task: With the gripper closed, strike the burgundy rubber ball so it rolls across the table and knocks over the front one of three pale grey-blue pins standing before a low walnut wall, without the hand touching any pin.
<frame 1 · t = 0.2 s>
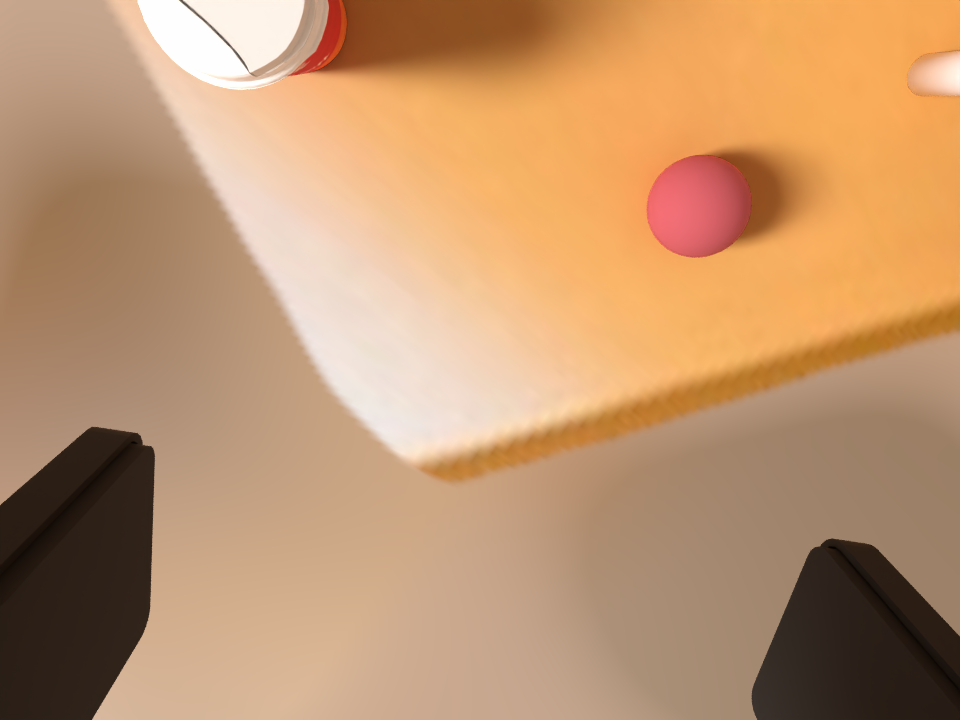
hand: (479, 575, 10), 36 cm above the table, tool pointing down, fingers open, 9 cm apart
paper cup: (301, 21, 40), on the table
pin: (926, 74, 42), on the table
ball: (698, 207, 41), on the table
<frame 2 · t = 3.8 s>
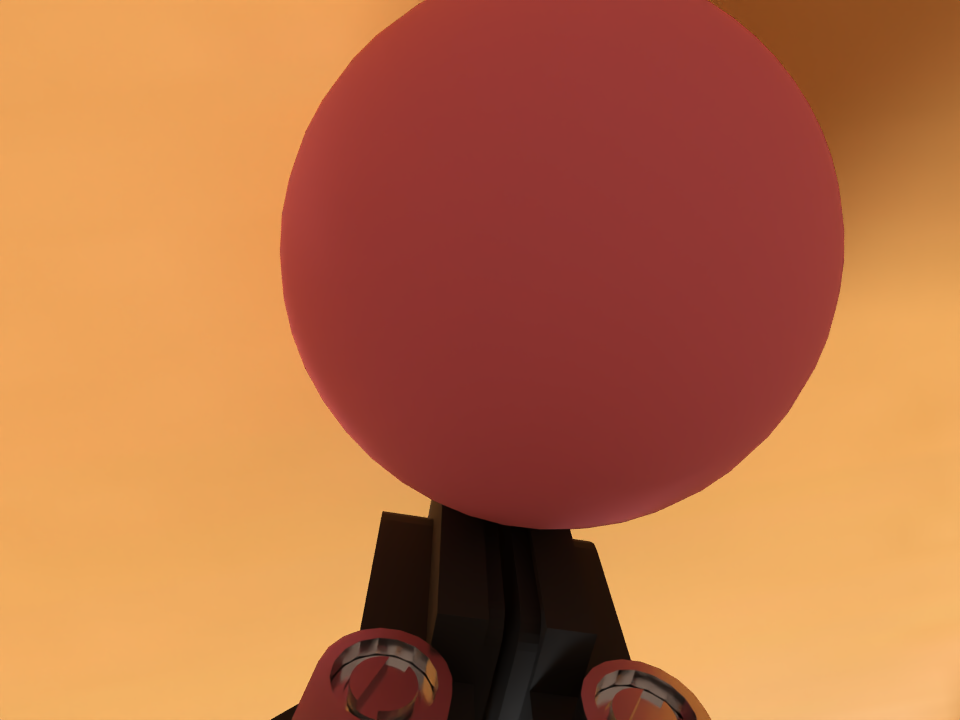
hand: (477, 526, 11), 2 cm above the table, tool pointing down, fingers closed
ball: (550, 262, 8), on the table
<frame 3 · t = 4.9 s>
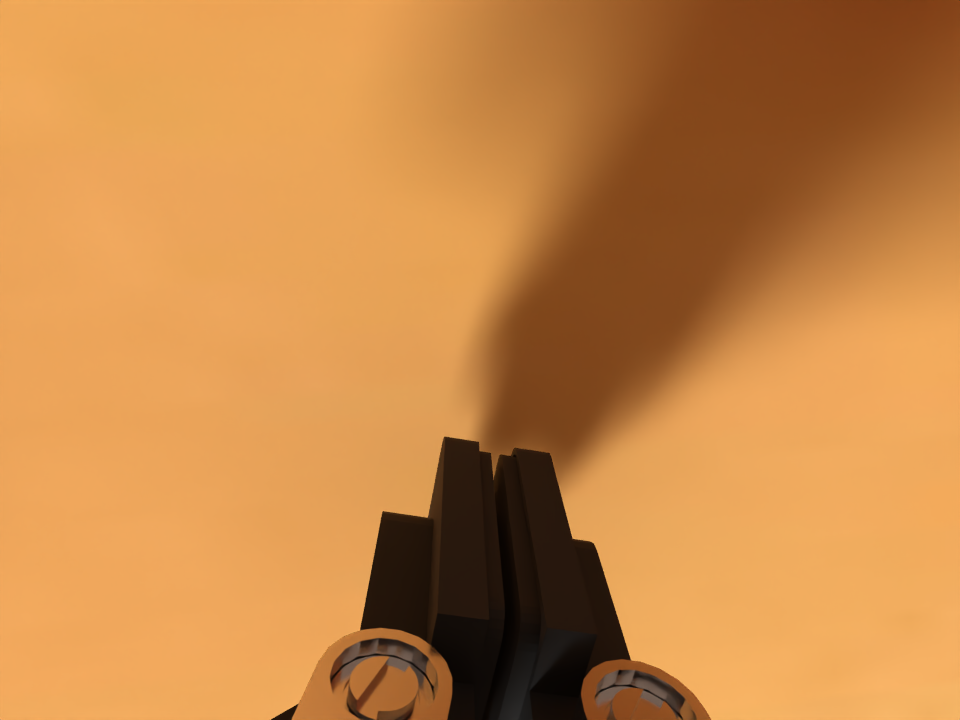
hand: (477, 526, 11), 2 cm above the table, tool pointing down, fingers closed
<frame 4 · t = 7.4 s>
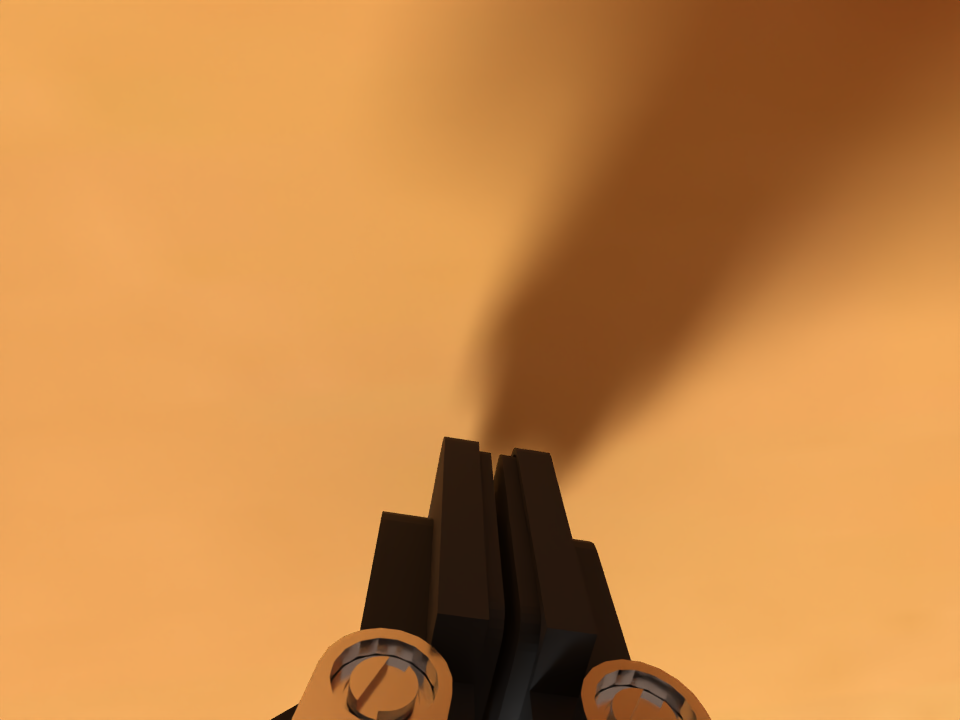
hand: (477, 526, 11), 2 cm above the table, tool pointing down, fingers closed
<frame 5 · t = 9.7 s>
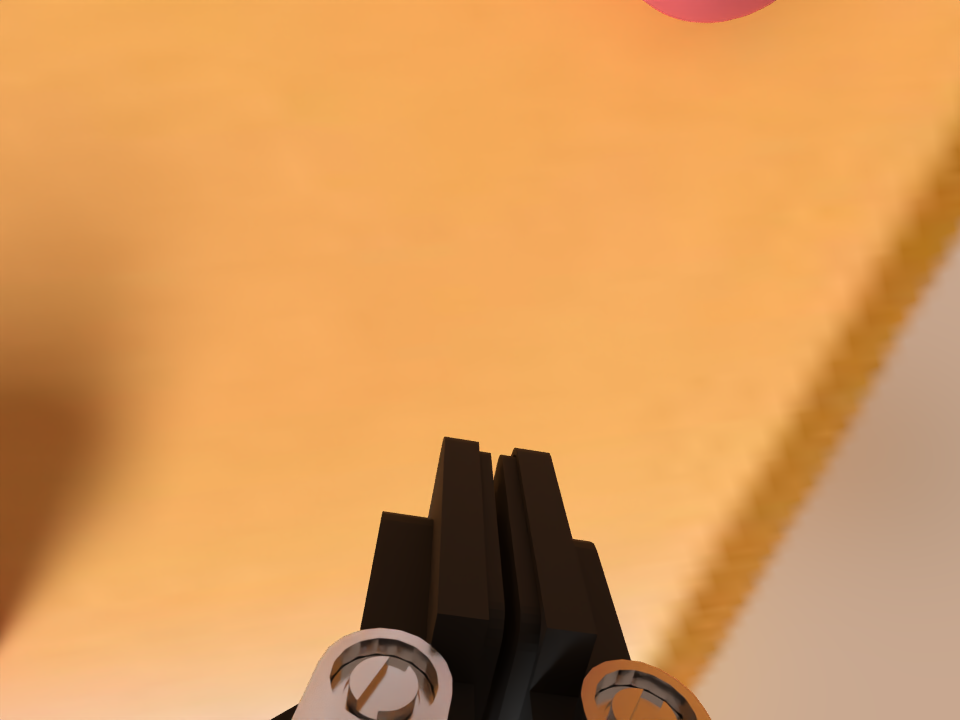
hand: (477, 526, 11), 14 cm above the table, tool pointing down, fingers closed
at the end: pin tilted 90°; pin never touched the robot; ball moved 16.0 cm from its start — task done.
